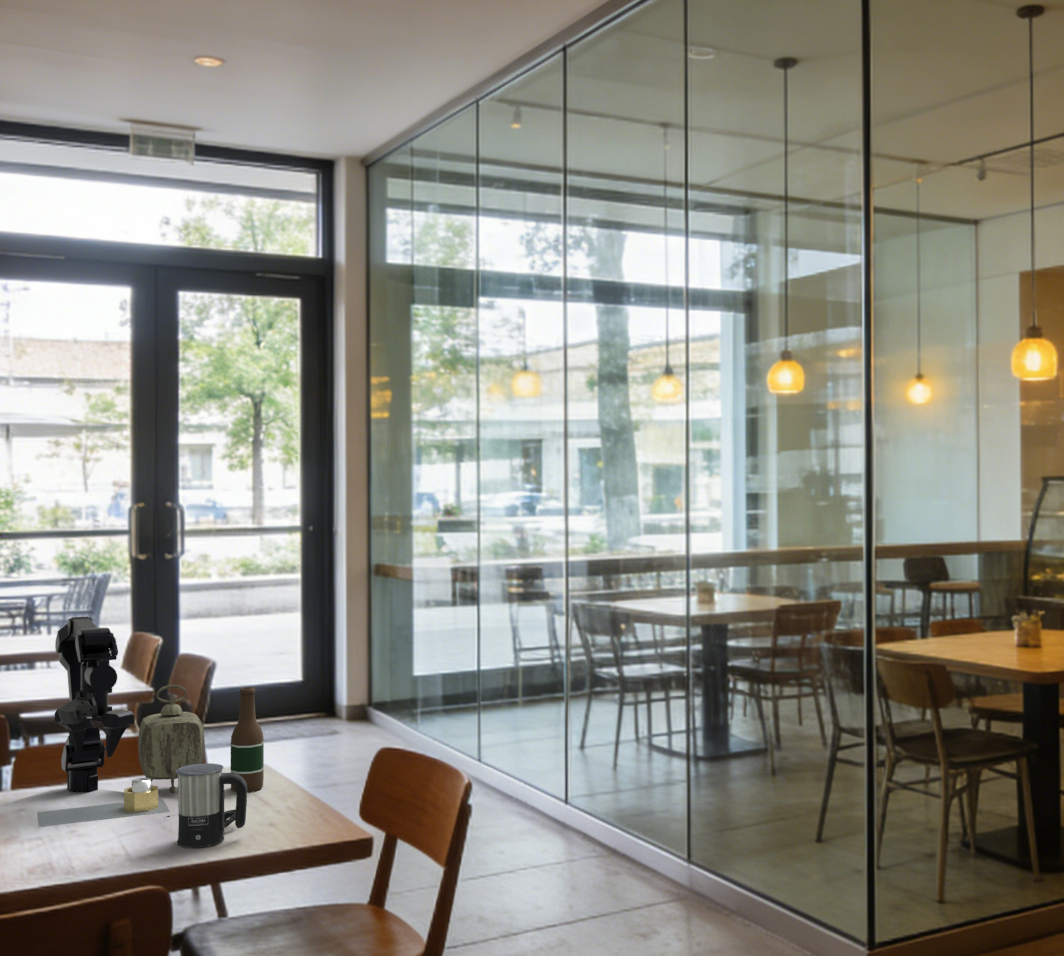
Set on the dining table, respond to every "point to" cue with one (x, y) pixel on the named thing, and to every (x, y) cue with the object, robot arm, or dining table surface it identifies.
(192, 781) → the milk frother
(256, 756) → the beer bottle
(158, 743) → the tabletop clock
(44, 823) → the fit board
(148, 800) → the brass ring
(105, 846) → the dining table surface
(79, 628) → the robot arm
